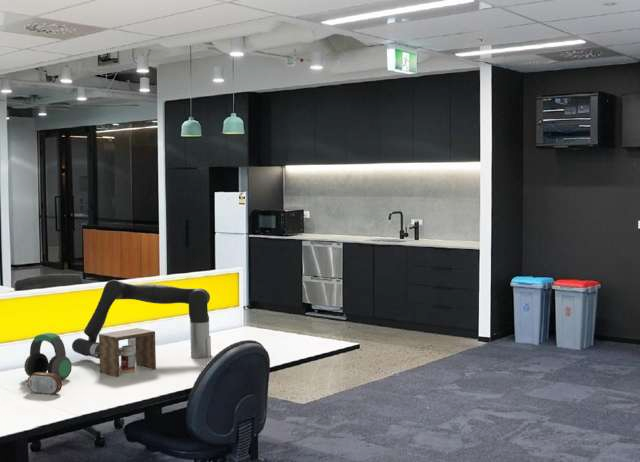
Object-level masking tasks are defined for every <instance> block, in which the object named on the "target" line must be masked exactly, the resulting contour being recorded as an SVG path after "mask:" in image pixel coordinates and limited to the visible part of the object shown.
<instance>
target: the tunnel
mask: <svg viewBox="0 0 640 462" xmlns="http://www.w3.org/2000/svg"><path fill="white" fill-rule="evenodd" d="M131 338H135V339H136V357H135V367H136V366H138V367H142V368H146V369H150V370H157V365H156V364H157V360H156V359H157V356H156V331H155V330H151V329H146V328H145V329H144V328H140V327H139V328H138V327H136V328H135V327H134V328H130V329H123V330H116V331H111V332H104V333H99V334H98V340H99V341H98V343H99V354H100V359H99V373H100V374H103V375H107V376H112V377H115V378H119V377H120V375H121V374H120V371H121V370H120V356H119V348H120V343H119V342H120V341H124V340H128V339H131Z"/></svg>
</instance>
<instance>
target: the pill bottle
mask: <svg viewBox="0 0 640 462" xmlns="http://www.w3.org/2000/svg"><path fill="white" fill-rule="evenodd" d="M121 348H122V351H123V352H122V353H121V356H120V371H121V372H122V373H131V372H135V370H136V357H135V353H134V351H132V350H134V347H133V346H132V345H128V344H126V345H122V346H121Z"/></svg>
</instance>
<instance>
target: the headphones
mask: <svg viewBox="0 0 640 462" xmlns="http://www.w3.org/2000/svg"><path fill="white" fill-rule="evenodd" d="M60 337H61V336H59V334H56V333H54V332H46V333H45V332H44V333H41V334H37V335H36V336H34V338H33V340H32V342H31V343H30V348H29V349H30V350H29V356H28V357H26V360H25V361H24V367H23V368H24V371H25V374H26V375H27V376H28V377H29V376H30V375H32V374H34V373H36V372H43V373H54V374H56V375H58V376H59V377H60V379H61V381H64V380H66V379H67V378H68V377H69V376H70V374H71V371H72V362H71V359H70V358H69V357H68V356H67V355H66V349H65V348H66V347H65V344H64V341H63V339H61V338H60ZM44 341H45V342H47V343H49V344H51V345H52V347H53V350H54V354H55V355H54V356H52V357H51V358H50V360H49V359H48V357H47V355H45V354H44V353H41V346H42V343H43V342H44Z"/></svg>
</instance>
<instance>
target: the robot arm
mask: <svg viewBox="0 0 640 462" xmlns="http://www.w3.org/2000/svg"><path fill="white" fill-rule="evenodd" d="M116 300H135V301H141V302H143V303H148V304H149V303H150V304H160V305H169V304H170V305H171V304H188V316H189V324H190V326H189V329H190V331H189V333H190V357H191V358H193V359H204V358H209V357H210V356H212V342H211V341H212V339H211V335H210V317H209V312H208V310H209V309H208V304H209V302H210V300H211V296H210V293H209V292H208V291H207V290H206V289H204V288H183V287H182V288H181V287H177V286H169V285H164V284H152V283H149V284H147V283H146V284H131V283H125V282H123V281H119V280H116V279H110V280H109V281H107V282H106V284H105V285H104V287H103V290H102V293H101V296H100V298H99V300H98V303H97V305H96V307H95V309H94V312H93V313H92V315H91V317H90V319H89V321H88V322H87V324H86V326H85V328H84V330H83V333H84V334H85V335H86V336H88V339H85V338H82V337H78V338H75V339H74V341H73V342H72V343H71V348H72V351H74V352H75V353H77V354H80V355H82V356H84V357H92V358H94V359H97V360H100V354H99V342H98V341H97V340H98V338H99V334H101V331H102V328H103V327H104V324H105V323H106V320H107V316H108V313H109V311H110V309H111V307H112V305H113V303H115V301H116ZM122 352H123V351H122V347H119V357H121V353H122Z"/></svg>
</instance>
